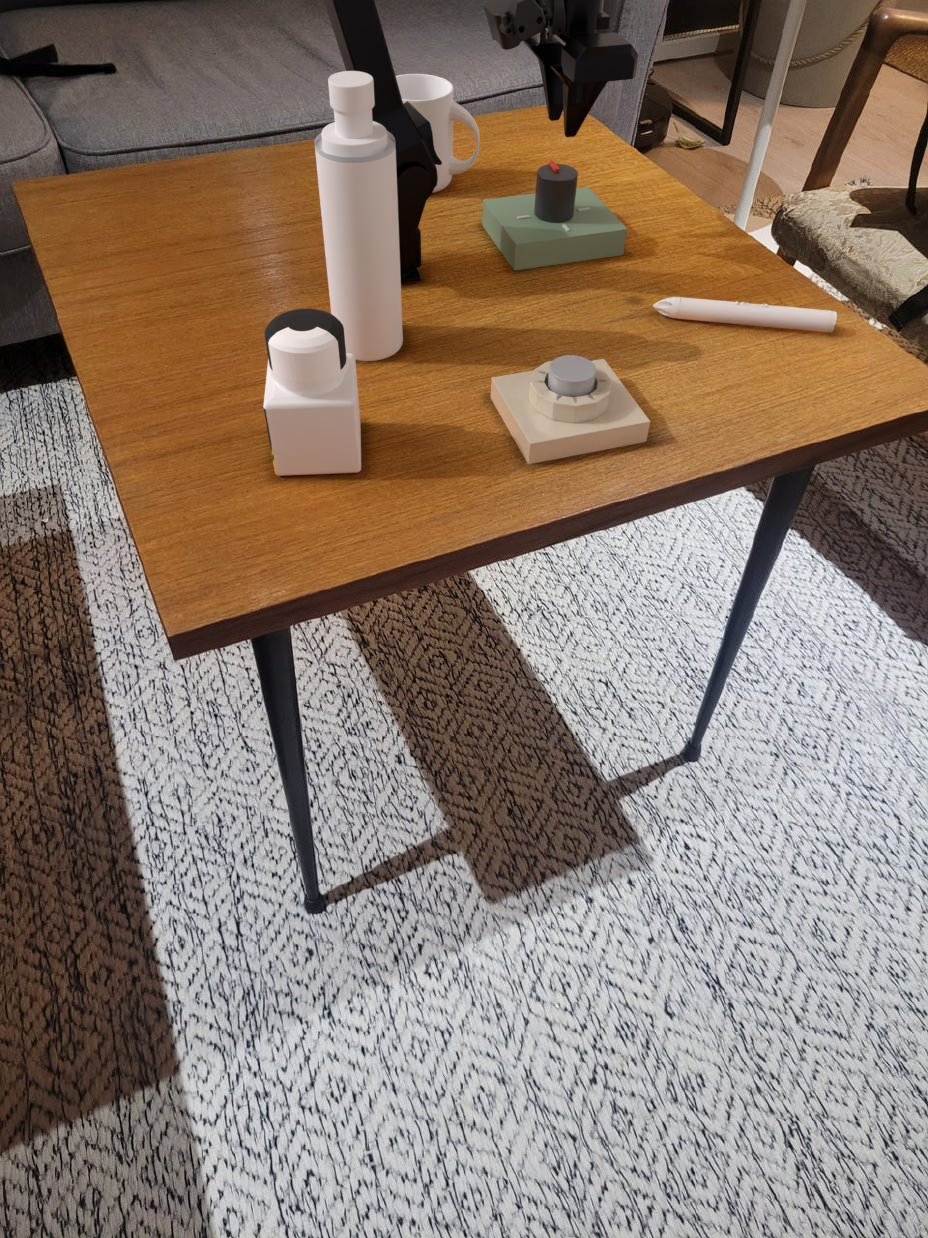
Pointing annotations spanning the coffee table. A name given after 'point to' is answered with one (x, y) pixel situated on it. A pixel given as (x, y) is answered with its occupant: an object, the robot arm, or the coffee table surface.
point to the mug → (439, 120)
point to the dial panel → (552, 231)
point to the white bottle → (360, 219)
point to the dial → (555, 192)
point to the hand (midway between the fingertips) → (561, 127)
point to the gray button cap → (571, 376)
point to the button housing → (567, 414)
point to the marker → (748, 314)
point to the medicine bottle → (311, 395)
